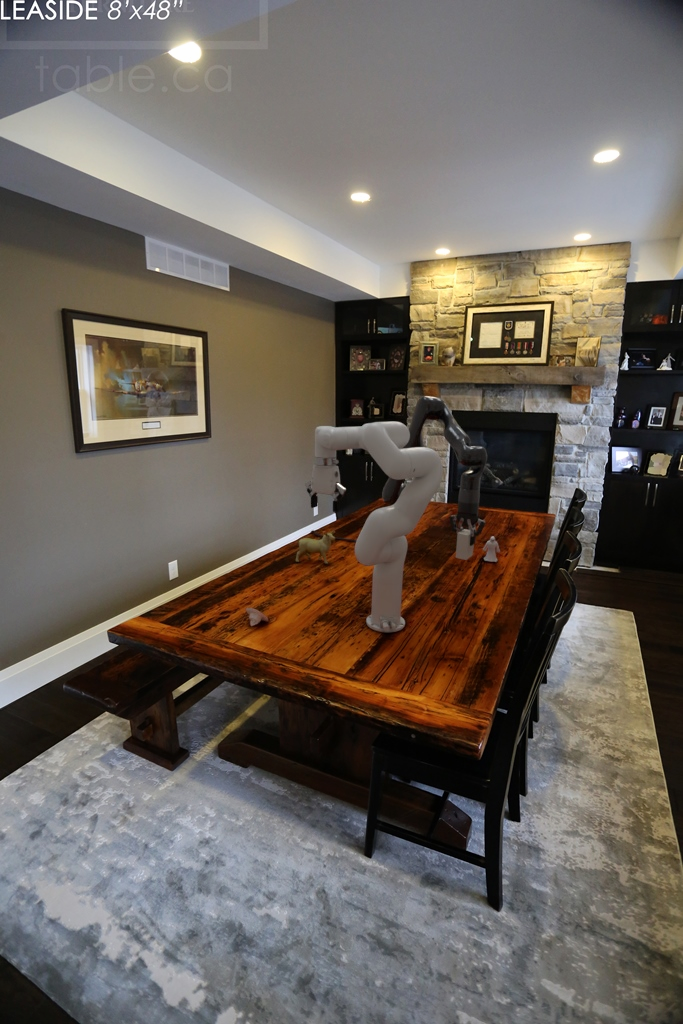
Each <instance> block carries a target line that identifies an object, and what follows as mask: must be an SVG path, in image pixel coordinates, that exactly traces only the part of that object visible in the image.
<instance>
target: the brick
mask: <svg viewBox="0 0 683 1024" xmlns="http://www.w3.org/2000/svg"><path fill="white" fill-rule="evenodd" d="M456 536H457V541H456V546H455V548H456V549H455V559H459V560H464V561H468V559H470V558H471V557H473V555H474V547H475V546H474V545H475V544H473V545H472V546H470V536H471V533H470V530H469V529H467V528H463V529H462V531H460V532H459V533H458V534H457V533H456Z"/></svg>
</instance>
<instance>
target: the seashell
mask: <svg viewBox="0 0 683 1024" xmlns="http://www.w3.org/2000/svg"><path fill="white" fill-rule="evenodd" d="M245 611H246V614H248V615H249V616H248V619H249V625H250V626H251V627H253V626H256V625H258V624H259V623H260V622H261V621H265V622H269V618H268V616H267V615H266V614H264V613H263V612H261V611H260V610H259V609H256V608H253V607H245Z"/></svg>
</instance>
